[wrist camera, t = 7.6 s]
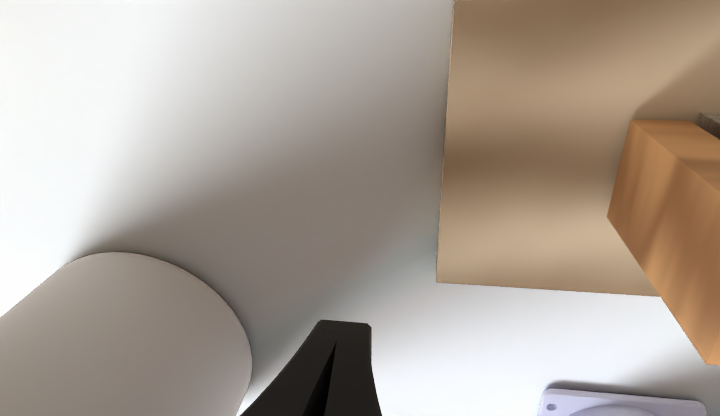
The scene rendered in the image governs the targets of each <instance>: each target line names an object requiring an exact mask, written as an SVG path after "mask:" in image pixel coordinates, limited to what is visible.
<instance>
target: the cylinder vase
mask: <svg viewBox="0 0 720 416" xmlns="http://www.w3.org/2000/svg"><path fill="white" fill-rule="evenodd" d="M251 374H252V354H251V349H250V345H249V341H248V338H247V335H246V333H245V331H244V329H243V327H242V325H241V323H240V321H239V319H238V318H237V316H236V315H235V313H234V312H233V311H232V309H231V308H230V307H229V305H228V304H227V303H226V302H225V301H224V300H223V299H222V298H221V297H220V296H219V295H218V294H217V293H216V292H215V291H214V290H213V289H212V288H210V287H209V286H208V285H207V284H205V283H204V282H203V281H201V280H200V279H198V278H197V277H195V276H194V275H192V274H190V273H189V272H187V271H185V270H183V269H181V268H179V267H177V266H175V265H173V264H170V263H168V262H165V261H163V260H160V259H157V258H153V257H149V256H145V255H140V254H134V253H125V252H107V253H98V254H93V255H88V256H85V257H82V258H79V259H76V260H74V261H72V262H70V263H68V264H66V265H65V266H63V267H61V268H60V269H59V270H57V271H56V272H55V273H54V274H52V275H51V276H50V277H49V278H48V279H46V280H45V281H44V282H43V283H42V284H40V285H39V286H38V287H37V288H36V289H34V290H33V291H32V292H31V293H30V294H28V295H27V296H26V297H25V298H24V299H22V300H21V301H20V302H19V303H18V304H16V305H15V306H14V307H13V308H12V309H10V310H9V311H8V312H7V313H6V314H4V315H3V316H2V317H1V318H0V416H236V414H237V412H238V410H239V407H240V405H241V403H242V400H243V398H244V396H245V393H246V391H247V389H248V386H249V383H250V379H251Z"/></svg>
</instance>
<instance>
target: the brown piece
mask: <svg viewBox="0 0 720 416" xmlns="http://www.w3.org/2000/svg"><path fill="white" fill-rule="evenodd" d="M607 218H608V220H609V221H610V223H611V224H612V226H613V227H614V228H615V230H616V231H617V233H618V234H619V236H620V237H621V239H622V240H623V242H624V243H625V245H626V246H627V248H628V249H629V251H630V252H631V254H632V255H633V257H634V258H635V260H636V261H637V263H638V264H639V266H640V267H641V269H642V270H643V271H644V273H645V274H646V276H647V277H648V279H649V280H650V282H651V283H652V285H653V286H654V288H655V289H656V291H657V292H658V294H659V295H660V297H661V298H662V300H663V301H664V303H665V304H666V306H667V307H668V309H669V310H670V311H671V313H672V314H673V316H674V317H675V319H676V320H677V322H678V323H679V325H680V326H681V328H682V329H683V331H684V332H685V334H686V335H687V337H688V338H689V340H690V341H691V343H692V344H693V346H694V347H695V349H696V350H697V351H698V353H699V354H700V356H701V357H702V359H703V360H704V362H705V363H706V364H710V365H720V140H719V139H718V138H716V137H715V136H713V135H711V134H710V133H708V132H707V131H705V130H703V129H702V128H700V127H699V126H697V125H696V124H694V123H692V122H691V121H676V120H630V123H629V127H628V131H627V135H626V139H625V143H624V147H623V151H622V156H621V160H620V164H619V168H618V172H617V176H616V180H615V184H614V188H613V193H612V197H611V201H610V205H609V209H608V213H607Z"/></svg>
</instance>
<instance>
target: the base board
mask: <svg viewBox="0 0 720 416" xmlns="http://www.w3.org/2000/svg"><path fill="white" fill-rule="evenodd" d="M700 112H704V113H720V0H453V14H452V30H451V45H450V60H449V76H448V91H447V107H446V122H445V137H444V153H443V168H442V184H441V199H440V215H439V230H438V245H437V261H436V282H437V283H453V284H468V285H484V286H500V287H516V288H532V289H547V290H563V291H579V292H595V293H611V294H626V295H642V296H658V297H660V295H659V294H658V292H657V291H656V289H655V288H654V286H653V285H652V283H651V282H650V280H649V279H648V277H647V276H646V274H645V273H644V271H643V270H642V269H641V267H640V266H639V264H638V263H637V261H636V260H635V258H634V257H633V255H632V254H631V252H630V251H629V249H628V248H627V246H626V245H625V243H624V242H623V240H622V239H621V237H620V236H619V234H618V233H617V231H616V230H615V228H614V227H613V226H612V224H611V223H610V221H609V220H608V218H607V213H608V209H609V205H610V201H611V197H612V193H613V188H614V184H615V180H616V176H617V172H618V168H619V164H620V160H621V156H622V151H623V147H624V143H625V139H626V135H627V131H628V127H629V123H630V120H676V121H691V122H692V123H694V124H697V121H698V117H699V114H700Z"/></svg>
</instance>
